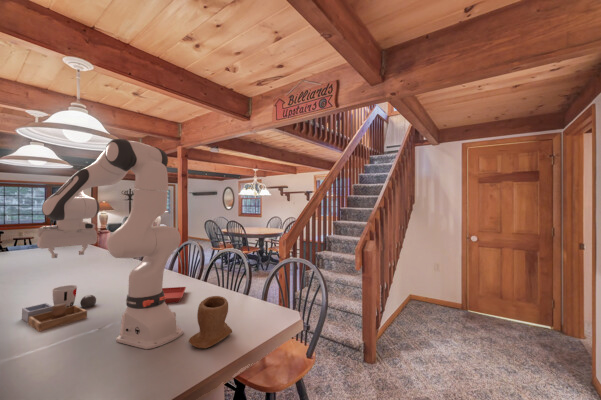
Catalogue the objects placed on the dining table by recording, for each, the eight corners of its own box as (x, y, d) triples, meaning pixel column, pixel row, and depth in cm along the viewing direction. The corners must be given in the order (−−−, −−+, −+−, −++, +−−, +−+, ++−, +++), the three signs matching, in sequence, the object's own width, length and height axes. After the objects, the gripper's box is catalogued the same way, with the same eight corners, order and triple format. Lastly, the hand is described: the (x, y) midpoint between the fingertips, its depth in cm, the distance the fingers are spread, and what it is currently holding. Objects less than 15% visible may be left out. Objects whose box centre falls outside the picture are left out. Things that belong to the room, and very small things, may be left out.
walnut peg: (67, 320, 105) (67, 304, 105) (53, 323, 102) (54, 308, 102) (63, 317, 107) (63, 302, 108) (49, 321, 104) (50, 305, 104)
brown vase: (208, 355, 83) (209, 307, 83) (183, 345, 89) (184, 300, 89) (241, 335, 96) (242, 294, 97) (217, 328, 102) (218, 289, 102)
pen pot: (52, 318, 108) (52, 306, 108) (27, 325, 102) (28, 312, 102) (45, 314, 112) (46, 302, 112) (21, 320, 106) (22, 308, 106)
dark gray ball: (98, 307, 121) (98, 294, 121) (83, 311, 116) (83, 298, 116) (92, 304, 124) (93, 292, 124) (77, 308, 119) (78, 295, 119)
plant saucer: (186, 292, 145) (186, 286, 145) (182, 303, 128) (182, 296, 128) (148, 295, 140) (149, 288, 140) (139, 307, 122) (139, 300, 123)
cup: (61, 315, 112) (62, 291, 112) (46, 313, 113) (47, 289, 114) (80, 308, 120) (81, 285, 120) (66, 306, 121) (67, 284, 122)
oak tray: (86, 319, 108) (87, 310, 108) (38, 333, 95) (39, 323, 96) (74, 313, 114) (75, 305, 114) (28, 326, 101) (28, 316, 101)
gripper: (40, 226, 107) (38, 261, 107) (99, 224, 125) (98, 254, 124) (35, 225, 110) (33, 258, 110) (93, 223, 128) (92, 252, 128)
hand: (68, 256), depth 117 cm, fingers open, 8 cm apart
